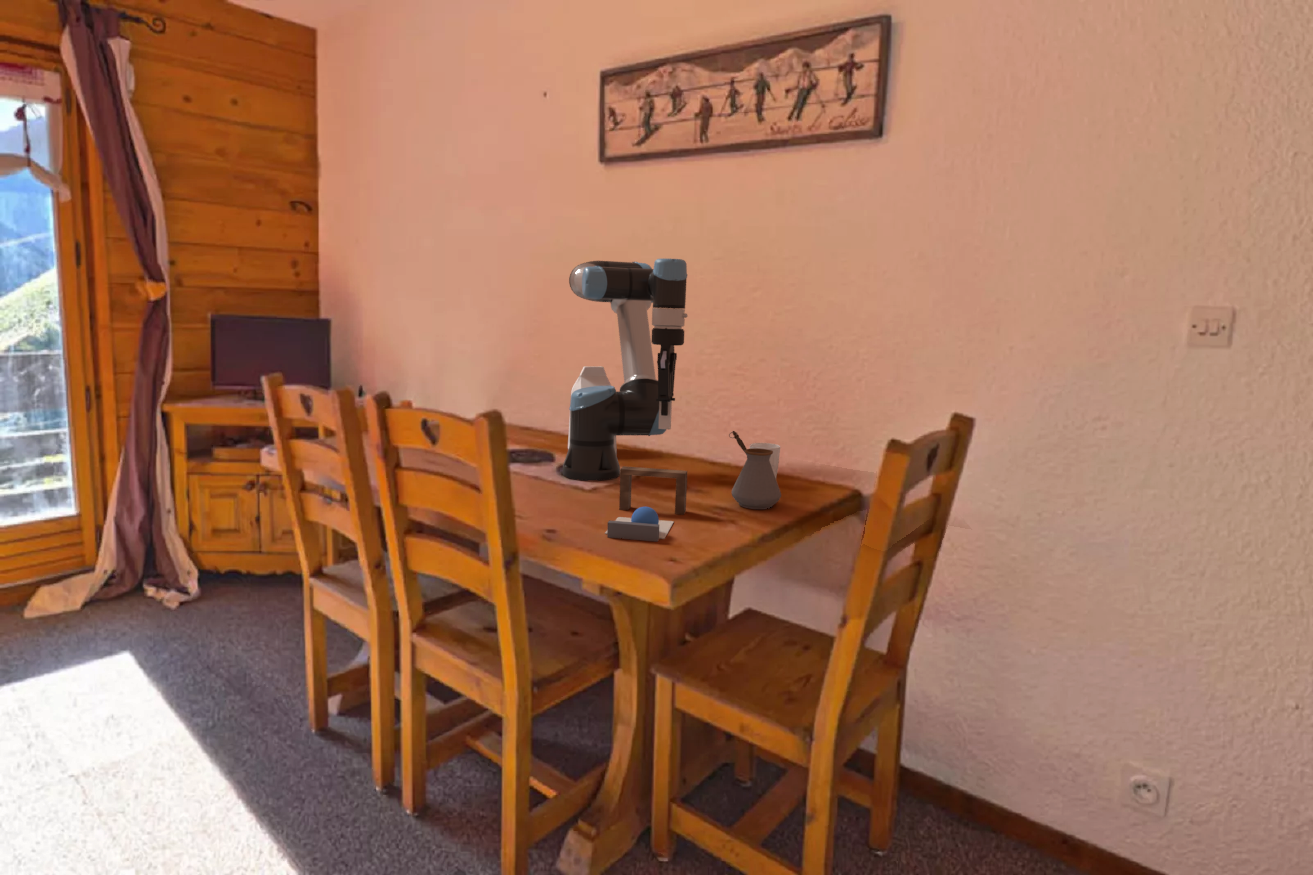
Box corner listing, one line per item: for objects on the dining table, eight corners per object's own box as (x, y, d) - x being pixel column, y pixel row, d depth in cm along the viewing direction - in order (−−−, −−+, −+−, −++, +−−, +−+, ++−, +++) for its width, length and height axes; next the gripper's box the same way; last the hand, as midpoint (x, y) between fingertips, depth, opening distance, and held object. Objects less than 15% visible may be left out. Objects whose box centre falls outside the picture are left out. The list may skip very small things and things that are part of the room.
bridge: (619, 509, 170) (620, 469, 169) (622, 506, 173) (623, 466, 172) (683, 514, 168) (685, 473, 166) (685, 511, 171) (687, 470, 169)
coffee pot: (789, 510, 175) (793, 445, 172) (742, 513, 171) (746, 447, 169) (750, 488, 195) (754, 429, 192) (708, 490, 191) (711, 430, 189)
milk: (578, 456, 227) (580, 368, 223) (567, 448, 238) (568, 365, 233) (616, 454, 232) (618, 368, 227) (604, 447, 242) (606, 365, 238)
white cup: (777, 487, 196) (779, 449, 194) (746, 485, 198) (748, 447, 196) (778, 480, 204) (781, 443, 202) (749, 478, 205) (751, 441, 204)
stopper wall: (607, 537, 150) (607, 522, 150) (609, 535, 152) (609, 520, 151) (657, 541, 148) (658, 526, 148) (658, 539, 150) (659, 524, 149)
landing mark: (604, 533, 152) (604, 532, 152) (618, 517, 164) (618, 516, 164) (664, 539, 150) (664, 538, 150) (673, 522, 162) (673, 521, 162)
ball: (627, 529, 150) (630, 502, 152) (632, 536, 155) (635, 510, 157) (655, 530, 149) (658, 503, 151) (659, 538, 154) (661, 511, 156)
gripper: (680, 328, 169) (676, 434, 173) (688, 327, 182) (684, 425, 186) (646, 327, 171) (643, 432, 175) (657, 326, 183) (653, 423, 187)
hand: (664, 428), depth 180 cm, fingers closed
